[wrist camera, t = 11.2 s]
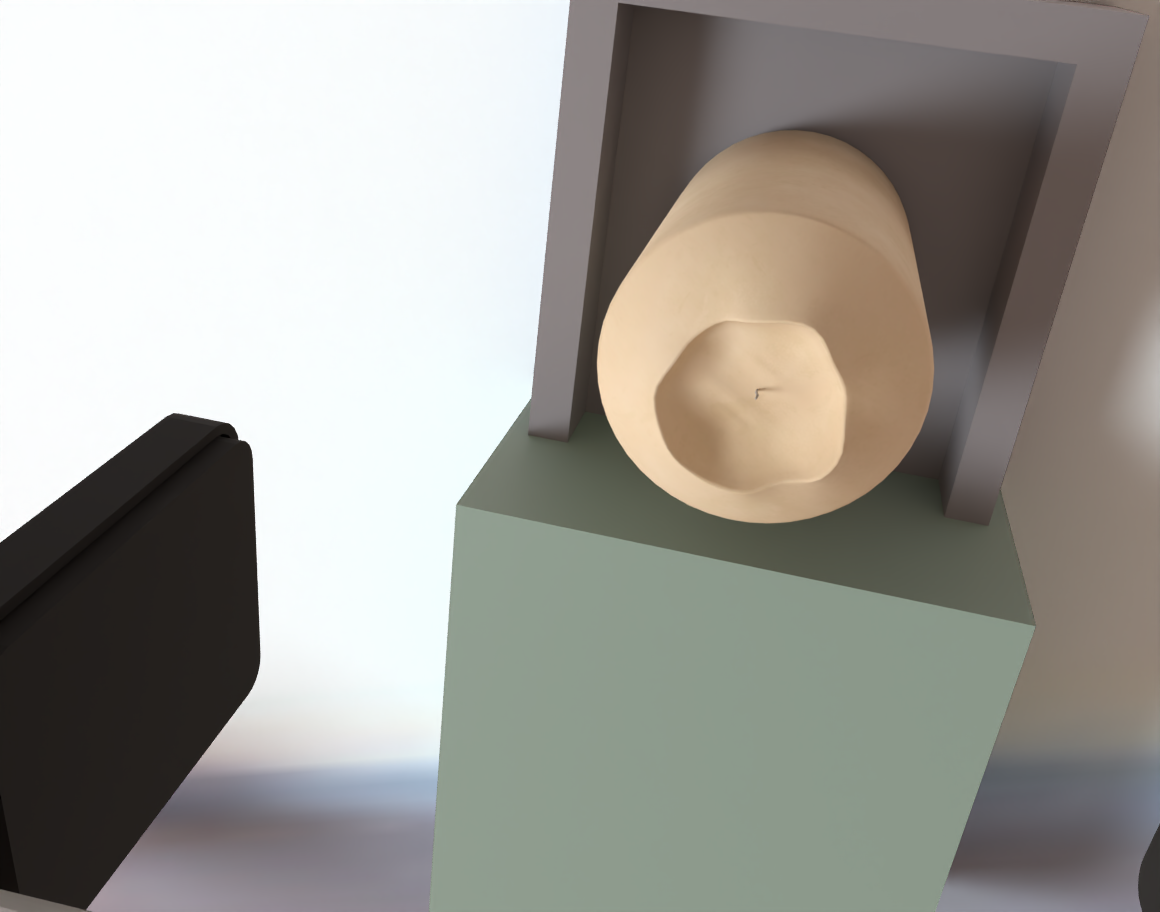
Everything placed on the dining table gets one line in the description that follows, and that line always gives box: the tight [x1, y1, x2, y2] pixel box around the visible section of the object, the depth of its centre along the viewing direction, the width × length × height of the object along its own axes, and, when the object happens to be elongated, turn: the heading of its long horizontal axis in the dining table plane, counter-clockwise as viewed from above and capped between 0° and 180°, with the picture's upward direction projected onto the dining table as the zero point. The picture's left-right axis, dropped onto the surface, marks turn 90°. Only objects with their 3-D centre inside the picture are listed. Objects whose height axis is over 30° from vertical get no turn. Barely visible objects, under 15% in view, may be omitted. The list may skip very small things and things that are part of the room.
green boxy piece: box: [429, 0, 1149, 912], centre depth 27 cm, size 25×12×7 cm, turn 173°
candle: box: [597, 130, 934, 523], centre depth 21 cm, size 6×6×10 cm
